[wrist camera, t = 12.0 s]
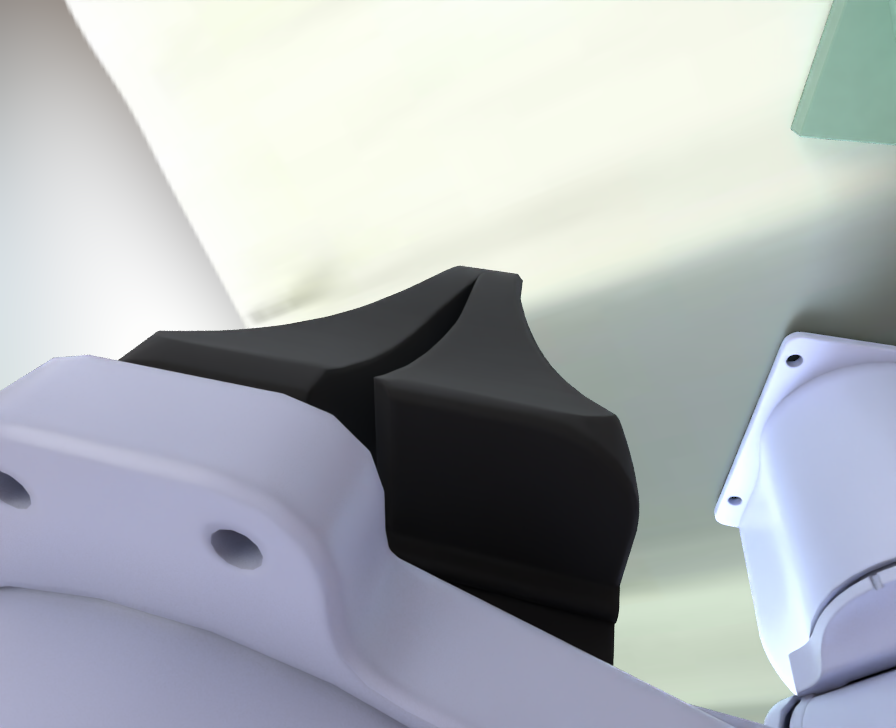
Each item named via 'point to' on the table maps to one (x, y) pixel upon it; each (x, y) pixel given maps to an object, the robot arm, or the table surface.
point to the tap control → (853, 76)
